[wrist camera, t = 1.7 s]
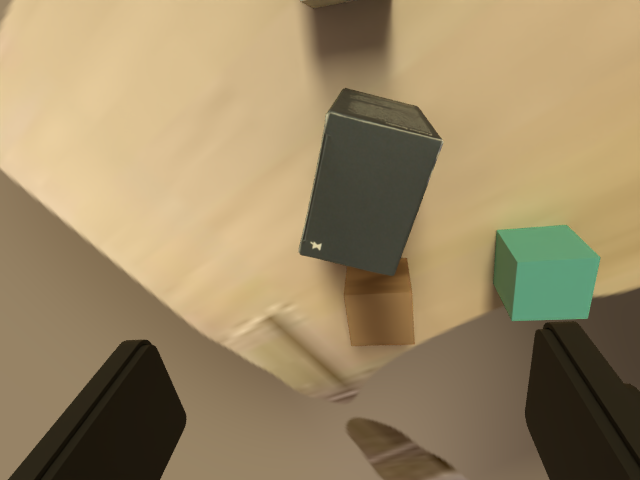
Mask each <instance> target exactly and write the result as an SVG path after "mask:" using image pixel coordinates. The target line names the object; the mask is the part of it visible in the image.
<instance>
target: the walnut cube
mask: <svg viewBox="0 0 640 480" xmlns="http://www.w3.org/2000/svg"><path fill="white" fill-rule="evenodd" d="M344 299H345V306H346V313H347V320H348V326H349V333H350V340H351V346H367V345H407V344H415V342H414V322H413V302H412V289H411V282H410V275H409V269H408V262H407V258H400V261H399V264H398V267H397V270H396V272H395V275H394V276H389V275H384V274H379V273H375V272H370V271H366V270H362V269H358V268H354V267H350V266H347V274H346V282H345V291H344Z"/></svg>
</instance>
